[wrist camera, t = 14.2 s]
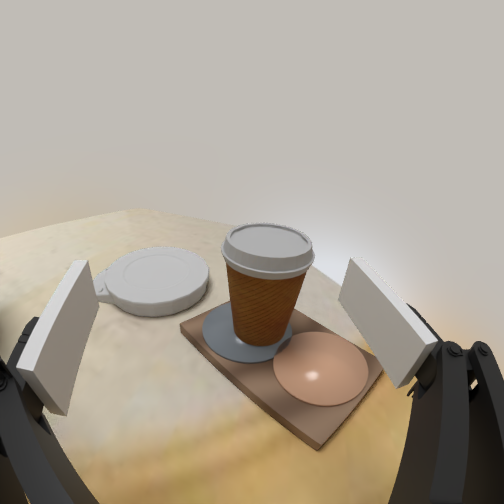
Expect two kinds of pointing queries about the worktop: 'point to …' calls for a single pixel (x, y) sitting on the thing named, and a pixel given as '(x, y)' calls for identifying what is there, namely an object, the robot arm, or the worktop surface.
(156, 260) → the lid
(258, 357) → the slate disc
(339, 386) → the terracotta disc
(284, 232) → the disposable coffee cup
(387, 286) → the robot arm
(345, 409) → the walnut board
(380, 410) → the worktop surface
